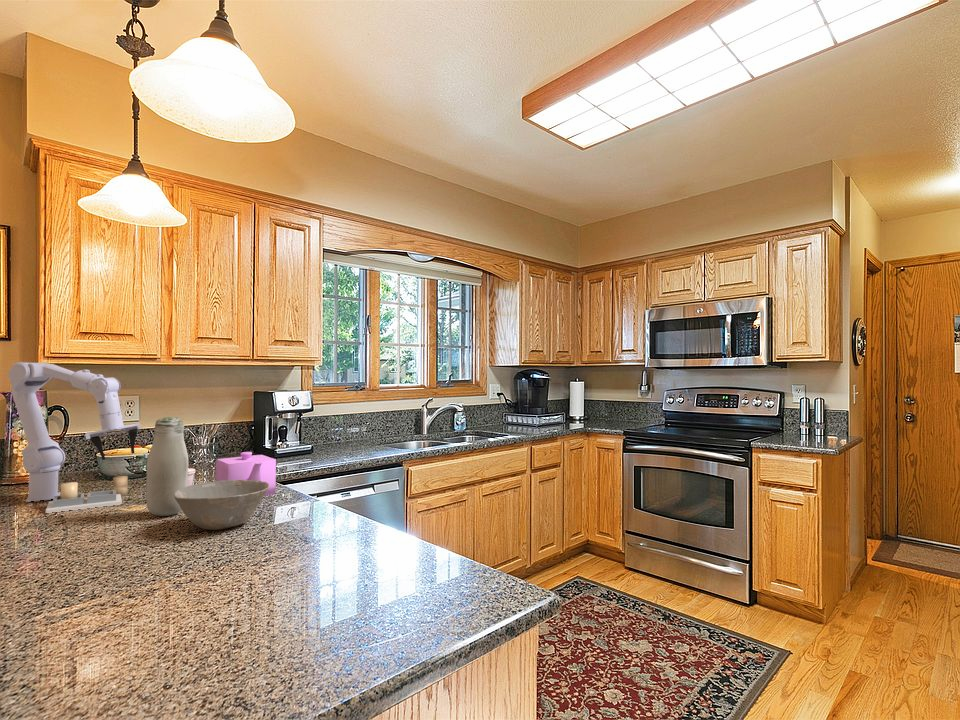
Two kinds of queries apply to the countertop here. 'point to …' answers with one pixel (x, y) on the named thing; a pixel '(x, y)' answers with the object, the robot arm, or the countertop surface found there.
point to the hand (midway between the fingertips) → (118, 456)
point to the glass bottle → (166, 467)
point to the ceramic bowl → (221, 502)
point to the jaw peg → (120, 485)
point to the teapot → (248, 469)
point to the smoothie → (190, 476)
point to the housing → (81, 499)
